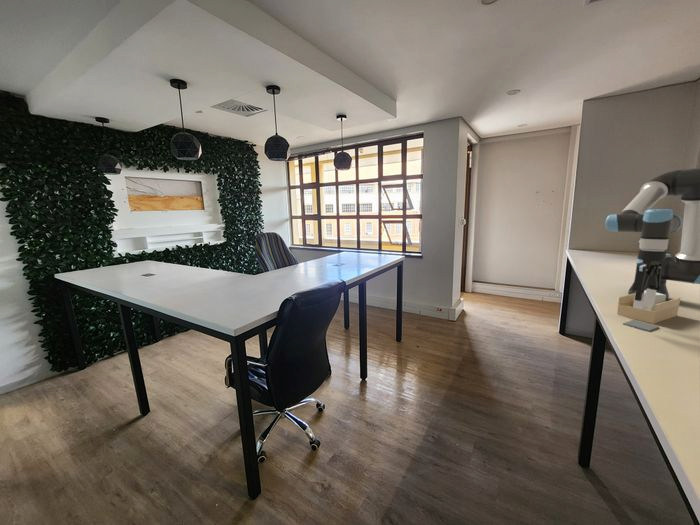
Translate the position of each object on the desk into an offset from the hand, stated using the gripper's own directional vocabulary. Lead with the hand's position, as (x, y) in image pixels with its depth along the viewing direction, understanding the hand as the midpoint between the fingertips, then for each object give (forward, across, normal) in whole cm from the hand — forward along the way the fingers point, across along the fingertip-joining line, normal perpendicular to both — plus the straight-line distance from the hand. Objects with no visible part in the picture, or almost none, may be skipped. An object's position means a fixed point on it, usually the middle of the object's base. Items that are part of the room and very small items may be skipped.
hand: (643, 306), depth 115 cm
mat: (+8, 0, 0) cm, 8 cm away
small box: (+8, -18, -5) cm, 21 cm away
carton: (+8, -18, -5) cm, 21 cm away
